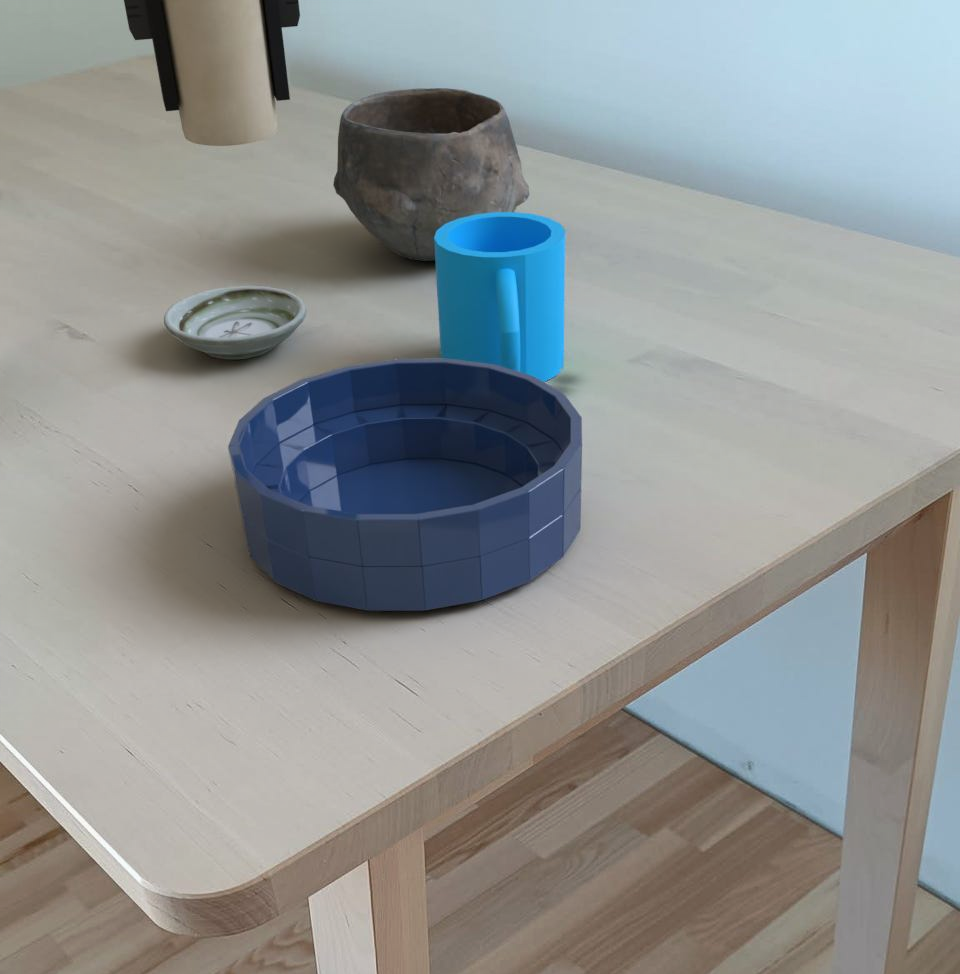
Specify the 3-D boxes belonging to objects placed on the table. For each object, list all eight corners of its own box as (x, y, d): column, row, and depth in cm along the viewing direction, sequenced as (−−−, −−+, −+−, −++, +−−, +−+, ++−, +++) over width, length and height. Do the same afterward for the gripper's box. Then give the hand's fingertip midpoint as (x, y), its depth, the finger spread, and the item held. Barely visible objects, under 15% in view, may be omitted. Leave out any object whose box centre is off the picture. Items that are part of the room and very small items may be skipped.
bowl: (384, 296, 94) (371, 146, 87) (316, 234, 104) (300, 95, 97) (553, 262, 98) (554, 116, 91) (472, 205, 108) (467, 70, 101)
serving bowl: (228, 476, 75) (211, 385, 71) (525, 429, 78) (524, 339, 74) (273, 647, 62) (255, 546, 58) (627, 583, 65) (632, 484, 61)
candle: (261, 149, 71) (232, -69, 64) (169, 146, 72) (130, -69, 65) (290, 121, 75) (266, -87, 68) (202, 118, 76) (169, -87, 69)
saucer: (287, 377, 84) (281, 341, 82) (149, 371, 86) (141, 335, 84) (326, 320, 91) (321, 285, 89) (198, 315, 92) (191, 281, 91)
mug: (439, 342, 87) (432, 215, 82) (557, 335, 88) (558, 208, 82) (446, 420, 79) (438, 284, 73) (577, 412, 79) (579, 276, 73)
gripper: (-83, -492, 52) (61, 133, 69) (359, -501, 55) (397, 101, 71) (-72, -481, 58) (59, 97, 74) (332, -490, 61) (373, 69, 77)
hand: (225, 98), depth 73 cm, fingers closed on candle, 5 cm apart
